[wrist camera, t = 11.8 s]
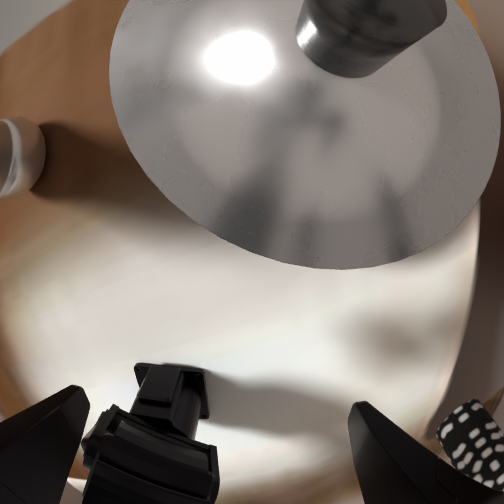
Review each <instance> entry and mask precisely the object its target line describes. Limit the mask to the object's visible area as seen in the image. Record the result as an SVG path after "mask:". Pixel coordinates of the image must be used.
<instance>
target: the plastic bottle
mask: <svg viewBox="0 0 504 504" xmlns="http://www.w3.org/2000/svg"><path fill="white" fill-rule="evenodd" d="M45 156H46V145H45V140H44V136H43V134H42V132H41V130H40V128H39V127H38V126H37V124H36V123H34V122H33V121H30V120H28V119H25V118H22V117H13V118H5V119H0V198H14V197H17V196H19V195H21V194H23V193H25V192H27V191H28V190H30V189H31V188H32V187H33V185H34V184H35V182H36V181H37V180H38V178H39V176H40V174H41V172H42V170H43V167H44V163H45Z"/></svg>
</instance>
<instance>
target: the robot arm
mask: <svg viewBox="0 0 504 504" xmlns="http://www.w3.org/2000/svg"><path fill="white" fill-rule="evenodd" d="M139 368H140V369H139ZM134 371H135V375H136V378H137V382H138V385H139V388H140V389H139V391H138V393H137V397H136V399H135V401H134V403H133V405H132V407H131V410H130V412H129V413H128V412H126V411H124V410H122V409H120V408H119V407H118V406H116V405H114V404H113V405H112V406H111V408H110V409H109V410H108V409H107V410H106V412H102V413H101V415H100V417H99V419H98V421H97V422H96V424H95V426H94V427H93V428H92V429H91V430H90V431H89V432H88V433H87V434H86V436H85V437H84V438H83V439H82V435H83V432H84V428H85V424H86V421H87V417H88V414H89V410H90V402H89V400H88V398H87V396H86V394H85V391H84V389H83V388H82V387H80V386H77V385H70V386H68V387H66V388H64V389H63V390H61V391H59V392H57V393H55V394H53V395H52V396H50V397H48V398H46V399H44V400H42V401H40V402H38V403H37V404H35V405H33V406H31V407H29V408H27V409H25V410H23V411H21V412H19V413H18V414H16V415H14V416H12V417H10V418H8V419H6V420H4V421H2V423H1V422H0V504H59V503H60V500H61V496H62V493H63V490H64V487H65V484H66V481H67V478H68V475H69V472H70V469H71V467H72V464H73V461H74V458H75V456H76V453H77V450H78V448H79V445H80V442H81V446H82V448H83V451H84V455H83V457H84V460H83V467H85V468H86V469H88V470H90V473H89V476H88V479H87V482H86V485H85V488H84V491H83V501H82V504H214V503H215V501H216V498H217V495H218V491H219V485H220V476H219V466H218V456H217V446H214V445H207V444H204V443H201V442H198V441H195V435H196V430H197V425H198V420H199V419H208V418H209V415H210V412H209V405H208V398H207V390H206V382H205V374H204V372H203V371H202V370H201V369H192V368H180V367H169V366H159V365H151V364H143V363H137V364H136V365H135V366H134ZM197 374H200V375H197ZM348 429H349V436H350V442H351V449H352V456H353V462H354V466H355V470H356V473H357V477H358V480H359V484H360V488H361V491H362V495H363V499H364V503H365V504H504V491H499V490H495V489H493V488H491V487H489V486H486V485H484V484H482V483H480V482H478V481H476V480H474V479H472V478H471V477H469V476H467V475H465V474H463V473H462V472H460V471H458V470H457V469H455V468H454V467H452V466H451V465H449V464H448V463H446V462H445V461H443V460H442V459H441V458H438V456H436V455H435V454H434V453H432V452H431V451H430V450H428V449H427V448H426V447H424V446H423V445H422V444H420V443H419V442H418V441H417V440H415V439H414V438H413V437H411V436H410V435H409V434H407V433H406V432H405V431H404V430H402V429H401V428H400V427H398V426H397V425H396V424H395V423H393V422H392V421H391V420H390V419H388V418H387V417H386V416H385V415H383V414H382V413H381V412H380V411H378V410H377V409H376V408H375V407H373V406H372V405H371V404H370V403H368V402H367V401H360V402H355V403H354V404H353V405H352V408H351V411H350V414H349V417H348ZM81 439H82V441H81Z"/></svg>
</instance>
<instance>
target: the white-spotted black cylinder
mask: <svg viewBox="0 0 504 504" xmlns="http://www.w3.org/2000/svg"><path fill="white" fill-rule="evenodd" d="M436 436H437V438H438V440H439V442H440V443H441V445H442V447H443V449H444V450H445V452H446V454H447V456H448V458H449V460H450V462H451V463H452V465H453V467H454V468H455V469H457V470H458V471H460V472H462V473H463V474H465V475H467V476H469V477H471V478H472V479H474V480H476V481H478V482H480V483H482V484H484V485H486V486H489V487H491V488H493V489H495V490H499V491H504V433H503V432H502V431H501V429H500V428H499V426H498V425H497V424H496V423H495V421H494V420H493V418H492V417H491V416H490V414H489V413H488V412H487V410H486V409H485V408H484V407H483V405H482V404H481V403H480V401H479V400H477V399H473V400H470V401H468V402H466V403H465V404H463V405H461V406H460V407H459V408H458V409H456V410H455V411H454V412H452V413H451V414H450V415H449V416H448V417H447V418H446V419H445V420H444V421H443V423H442V424H441V425H440V427H439V428H438V430H437V433H436Z"/></svg>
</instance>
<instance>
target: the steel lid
mask: <svg viewBox="0 0 504 504" xmlns="http://www.w3.org/2000/svg"><path fill="white" fill-rule="evenodd" d="M109 80H110V90H111V99H112V103H113V107H114V111H115V114H116V118H117V121H118V125H119V127H120V129H121V132H122V134H123V136H124V138H125V140H126V142H127V145H128V147H129V149H130V151H131V153H132V154H133V156H134V157H135V159H136V160H137V162H138V163H139V165H140V166H141V168H142V169H143V171H144V172H145V173H146V175H147V176H148V177H149V179H150V180H151V181H152V182H153V183H154V184H155V185H156V186H157V187H158V189H159V190H160V191H161V192H162V193H163V194H164V195H165V196H166V197H167V198H168V200H170V201H171V202H172V203H173V204H174V205H176V206H177V207H178V208H179V209H180V210H182V211H183V212H184V213H185V214H186V215H188V216H189V217H190V218H191V219H192V220H194V221H195V222H197V223H198V224H200V225H201V226H203V227H205V228H206V229H208V230H209V231H211V232H212V233H214V234H216V235H217V236H219V237H220V238H222V239H224V240H226V241H228V242H231V243H233V244H235V245H237V246H239V247H241V248H243V249H245V250H248V251H250V252H252V253H255V254H258V255H261V256H264V257H267V258H270V259H274V260H277V261H280V262H283V263H288V264H294V265H299V266H305V267H310V268H319V269H340V270H346V269H357V268H368V267H375V266H379V265H383V264H387V263H392V262H396V261H399V260H401V259H404V258H406V257H409V256H411V255H414V254H416V253H419V252H421V251H423V250H424V249H426V248H428V247H429V246H431V245H433V244H434V243H436V242H438V241H439V240H441V239H442V238H443V237H445V236H446V235H447V234H448V233H449V232H451V231H452V230H453V229H454V228H455V227H457V226H458V225H459V224H460V222H461V221H462V220H463V219H464V218H465V217H466V216H467V214H468V213H469V212H470V211H471V210H472V208H473V207H474V205H475V204H476V202H477V201H478V199H479V198H480V196H481V194H482V193H483V191H484V189H485V187H486V185H487V182H488V180H489V178H490V176H491V173H492V170H493V166H494V163H495V160H496V156H497V151H498V146H499V139H500V119H501V118H500V114H501V113H500V103H499V94H498V89H497V84H496V80H495V76H494V72H493V69H492V66H491V63H490V60H489V57H488V55H487V52H486V50H485V48H484V46H483V43H482V41H481V39H480V37H479V35H478V33H477V32H476V30H475V28H474V27H473V25H472V24H471V22H470V20H469V19H468V17H467V16H466V14H465V13H464V12H463V10H462V9H461V8H460V6H459V5H458V4H457V3H456V1H455V0H130V1H129V2H128V4H127V6H126V7H125V9H124V11H123V14H122V16H121V18H120V21H119V23H118V26H117V28H116V31H115V35H114V39H113V43H112V48H111V54H110V68H109Z"/></svg>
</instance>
